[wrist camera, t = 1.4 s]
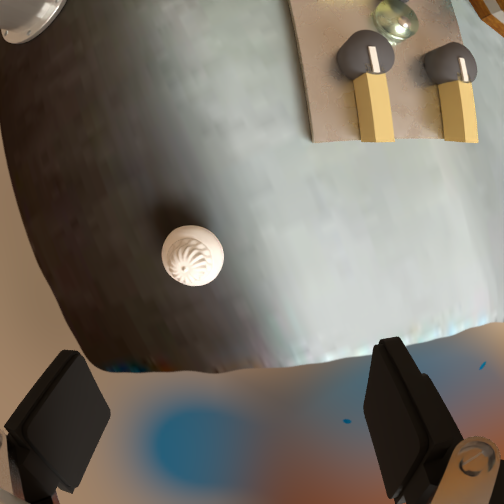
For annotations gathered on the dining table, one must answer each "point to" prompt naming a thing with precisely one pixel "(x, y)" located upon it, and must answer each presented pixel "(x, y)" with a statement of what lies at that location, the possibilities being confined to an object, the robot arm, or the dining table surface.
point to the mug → (491, 13)
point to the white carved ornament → (192, 255)
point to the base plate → (398, 77)
